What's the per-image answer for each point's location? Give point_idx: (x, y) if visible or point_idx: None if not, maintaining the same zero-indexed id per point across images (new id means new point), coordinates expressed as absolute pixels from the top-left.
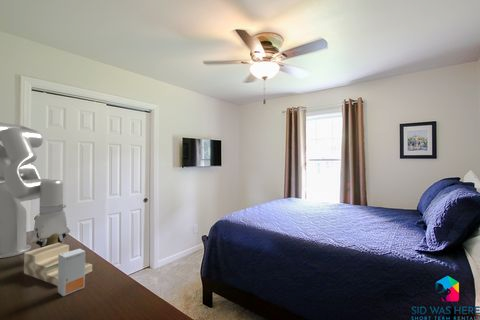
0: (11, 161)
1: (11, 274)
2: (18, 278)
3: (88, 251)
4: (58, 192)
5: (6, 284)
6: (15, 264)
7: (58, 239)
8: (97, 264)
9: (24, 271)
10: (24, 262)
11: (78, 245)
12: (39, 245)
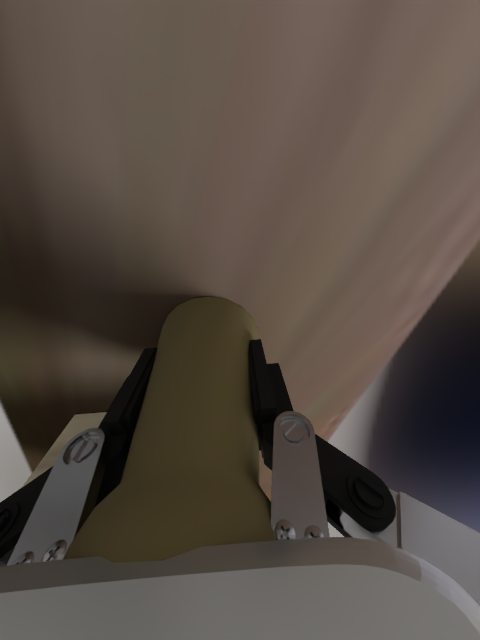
0: None
1: (21, 389)
2: (59, 435)
3: (351, 403)
4: None
5: (25, 447)
6: (3, 257)
7: (272, 463)
8: (269, 489)
9: (70, 425)
10: (33, 477)
11: (446, 263)
12: (83, 436)
